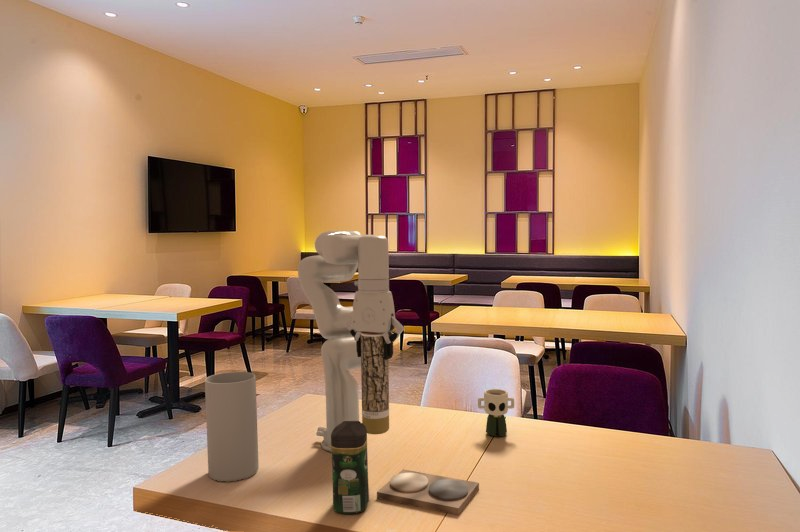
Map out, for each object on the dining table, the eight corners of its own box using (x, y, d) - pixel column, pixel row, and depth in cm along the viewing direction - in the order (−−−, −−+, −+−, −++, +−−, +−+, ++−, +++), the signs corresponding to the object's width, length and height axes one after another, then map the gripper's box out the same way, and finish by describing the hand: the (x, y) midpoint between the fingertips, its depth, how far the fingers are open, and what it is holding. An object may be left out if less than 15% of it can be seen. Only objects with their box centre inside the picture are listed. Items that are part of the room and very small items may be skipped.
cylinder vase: (268, 468, 152) (265, 374, 151) (234, 486, 141) (230, 385, 140) (233, 460, 158) (230, 370, 157) (197, 477, 147) (194, 380, 146)
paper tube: (386, 436, 141) (384, 334, 139) (359, 434, 142) (357, 334, 140) (391, 426, 147) (390, 329, 146) (366, 425, 149) (364, 329, 147)
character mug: (479, 438, 171) (478, 395, 170) (477, 430, 178) (476, 388, 178) (516, 438, 170) (515, 395, 170) (513, 430, 178) (512, 388, 177)
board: (376, 498, 133) (376, 488, 133) (403, 475, 146) (403, 466, 146) (458, 515, 125) (458, 504, 124) (479, 488, 137) (478, 479, 137)
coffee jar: (337, 495, 135) (335, 417, 134) (370, 496, 135) (369, 417, 134) (329, 515, 125) (327, 431, 124) (365, 516, 125) (363, 431, 124)
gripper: (335, 286, 143) (336, 357, 144) (398, 288, 135) (399, 363, 136) (351, 283, 149) (352, 351, 151) (412, 285, 142) (412, 357, 143)
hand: (374, 356), depth 143 cm, fingers closed on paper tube, 6 cm apart
